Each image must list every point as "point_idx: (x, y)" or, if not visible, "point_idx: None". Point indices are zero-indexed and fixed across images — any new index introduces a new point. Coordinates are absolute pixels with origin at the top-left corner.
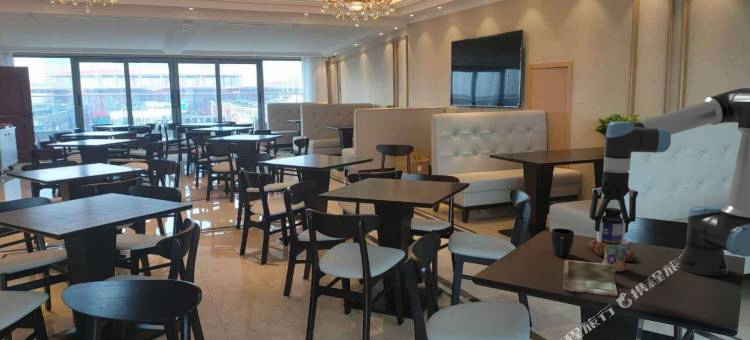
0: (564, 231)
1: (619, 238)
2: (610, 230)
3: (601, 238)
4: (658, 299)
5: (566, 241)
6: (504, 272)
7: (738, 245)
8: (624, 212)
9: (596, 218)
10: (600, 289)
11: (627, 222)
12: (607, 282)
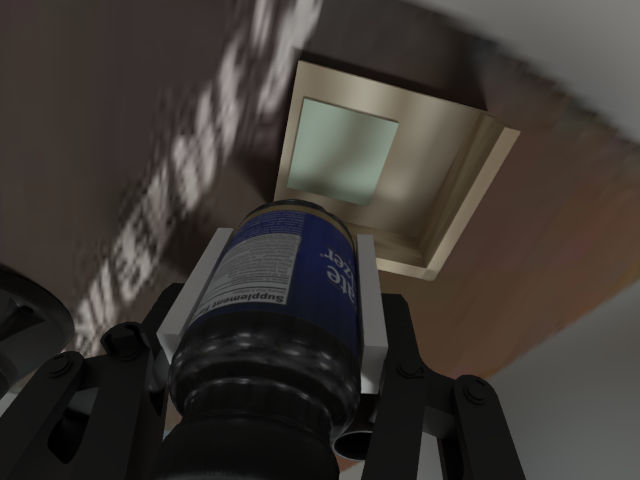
0: (349, 449)
1: (242, 230)
2: (310, 262)
3: (360, 249)
4: (147, 46)
5: (359, 406)
6: (606, 258)
7: None
8: (111, 458)
9: (430, 393)
10: (350, 109)
11: (131, 334)
12: (303, 178)
